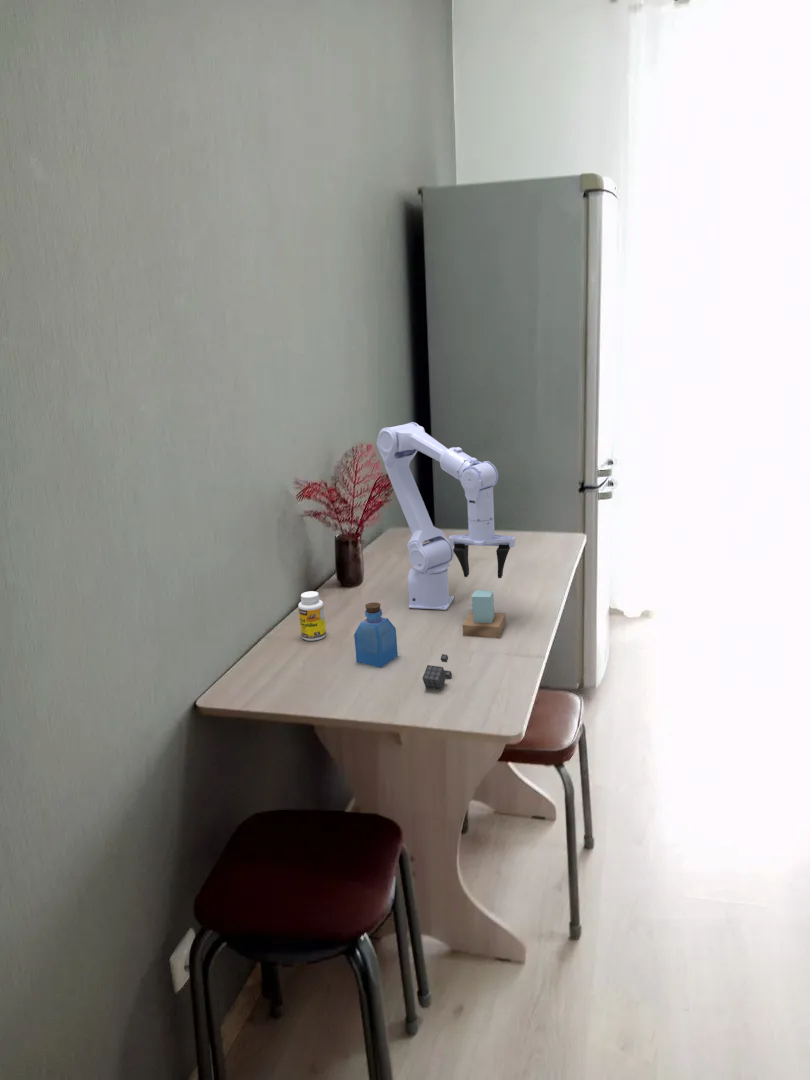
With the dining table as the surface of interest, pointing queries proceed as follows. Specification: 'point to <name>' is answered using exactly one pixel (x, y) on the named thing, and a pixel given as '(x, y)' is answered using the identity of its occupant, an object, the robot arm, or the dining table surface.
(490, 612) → the teal block
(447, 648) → the dining table surface
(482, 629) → the walnut base block
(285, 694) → the dining table surface
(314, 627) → the supplement bottle
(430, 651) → the dining table surface
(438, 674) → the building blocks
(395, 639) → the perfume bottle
